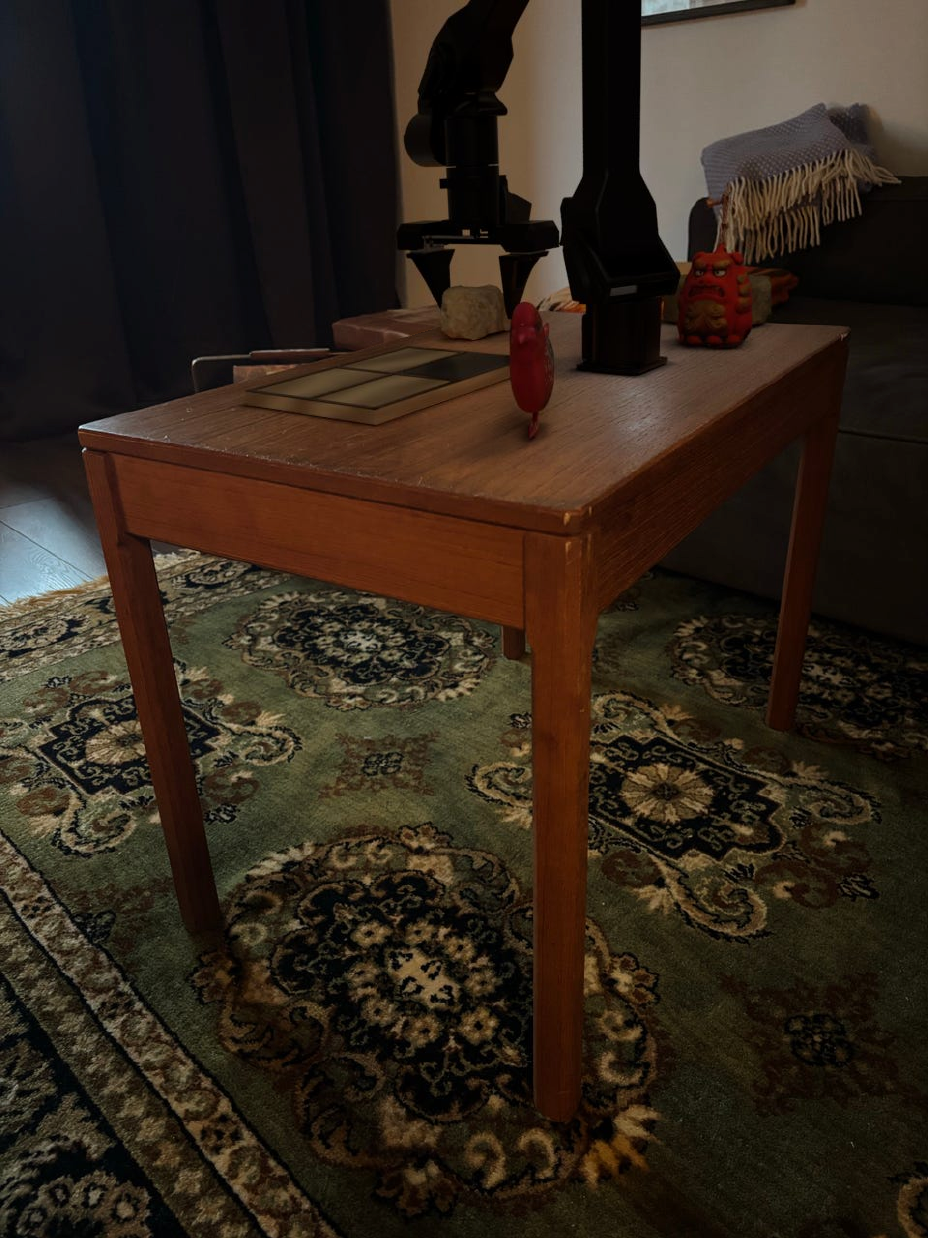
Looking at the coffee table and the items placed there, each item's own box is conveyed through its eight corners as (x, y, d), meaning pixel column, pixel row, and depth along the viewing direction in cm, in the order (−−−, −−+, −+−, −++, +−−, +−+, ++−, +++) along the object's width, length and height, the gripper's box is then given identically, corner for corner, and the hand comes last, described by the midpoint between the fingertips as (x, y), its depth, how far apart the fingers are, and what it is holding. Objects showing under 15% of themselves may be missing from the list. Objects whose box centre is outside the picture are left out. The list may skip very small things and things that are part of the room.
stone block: (678, 315, 115) (680, 271, 113) (774, 320, 110) (778, 274, 107) (659, 323, 111) (661, 278, 109) (758, 329, 105) (762, 281, 103)
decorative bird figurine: (502, 461, 65) (497, 307, 61) (530, 399, 81) (528, 273, 77) (544, 461, 65) (543, 306, 61) (565, 399, 81) (565, 272, 76)
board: (530, 370, 91) (530, 356, 91) (376, 425, 76) (374, 408, 75) (408, 358, 100) (408, 345, 99) (247, 405, 84) (245, 390, 83)
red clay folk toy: (666, 347, 98) (673, 186, 92) (688, 335, 104) (696, 182, 97) (741, 351, 95) (754, 184, 88) (760, 338, 100) (773, 180, 93)
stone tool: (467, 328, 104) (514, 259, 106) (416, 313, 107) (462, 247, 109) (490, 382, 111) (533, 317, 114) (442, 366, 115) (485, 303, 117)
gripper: (586, 160, 104) (585, 310, 111) (449, 165, 115) (456, 302, 121) (529, 164, 96) (532, 325, 103) (388, 170, 107) (398, 316, 113)
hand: (478, 316), depth 110 cm, fingers open, 9 cm apart
